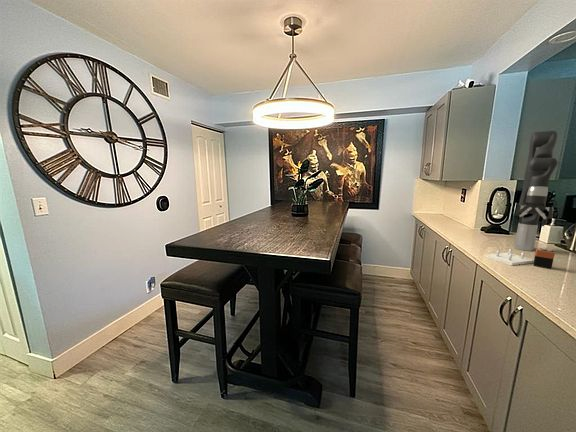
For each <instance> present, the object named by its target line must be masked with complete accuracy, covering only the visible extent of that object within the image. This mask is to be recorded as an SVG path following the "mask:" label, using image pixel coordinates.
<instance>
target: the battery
mask: <svg viewBox="0 0 576 432" xmlns="http://www.w3.org/2000/svg"><path fill="white" fill-rule="evenodd" d="M534 253H535V254H534V258H533V260H534V262H533V263H532V264H533V266H534V267H538V268H544V269H549V270H551V269H552V268H553V264H554V258H555V254H556V253H555V251H554V250H553V249H550V248H547V249H544V248H541V247H539V248H536V249H535V252H534Z"/></svg>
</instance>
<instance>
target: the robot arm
mask: <svg viewBox="0 0 576 432" xmlns="http://www.w3.org/2000/svg"><path fill="white" fill-rule="evenodd" d="M529 140H530V141H529V148H528V157H527V164H526V167H525V170H524V171H525V172H524V177H523V182H522V183H523V184H522V190H521V195H520V198H519V203H518V204H517V206H516V210H515V216H518V217H519V218H518V224H517V230H516V234H515V240H514V247H513V248H514V249H517V250H521V251H526V252H527V251H528V252H531V251H534V249H535V246H536V245H535V244H536V239H537V233H538V227H539V222H540V221H539V220H540V217H542V221H541V227H545V226H546V225H547V222H548V220H549V219H553V218H554V217H553V216H554V207H552V206H548V207H547V206H546V202H547V198H548V191H549V189H548V188H549V183H550V180H551V176H552V175H553V173H554V171H555V169H556V168H557V166H558V163H559V162H558V160H557V158H555V157H553V152H554V149H555V147H556V143H557V141H558V132H557V131H556V130H546V131H545V130H544V131H534V132H533V133H532V134H531V136H530V139H529ZM544 211H547V212H548V216H546V213H544ZM528 214H530V216H528V217H525V216H526V215H528ZM531 214H532V215H531Z"/></svg>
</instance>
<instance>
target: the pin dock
mask: <svg viewBox="0 0 576 432" xmlns="http://www.w3.org/2000/svg"><path fill="white" fill-rule="evenodd" d="M512 251H513V250H512V249H511V248H509V249H508V252H500V250H499V249H497V250H496V253H488V254H485V258H488V259H490V260H493V261H496V262H500V263H503V264H505V265H509V266H511V265H512V266H520V265H526V264H533V262H534V258H532V259H531V258H529V257H526V256H525V252H521V255H518V254H516V253H512ZM519 264H520V265H519Z"/></svg>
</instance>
